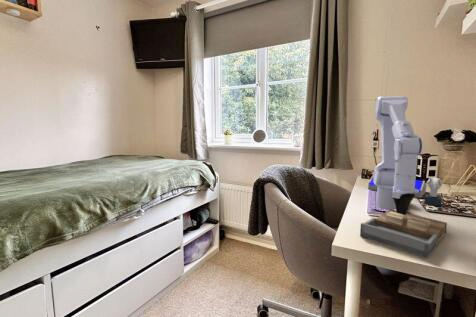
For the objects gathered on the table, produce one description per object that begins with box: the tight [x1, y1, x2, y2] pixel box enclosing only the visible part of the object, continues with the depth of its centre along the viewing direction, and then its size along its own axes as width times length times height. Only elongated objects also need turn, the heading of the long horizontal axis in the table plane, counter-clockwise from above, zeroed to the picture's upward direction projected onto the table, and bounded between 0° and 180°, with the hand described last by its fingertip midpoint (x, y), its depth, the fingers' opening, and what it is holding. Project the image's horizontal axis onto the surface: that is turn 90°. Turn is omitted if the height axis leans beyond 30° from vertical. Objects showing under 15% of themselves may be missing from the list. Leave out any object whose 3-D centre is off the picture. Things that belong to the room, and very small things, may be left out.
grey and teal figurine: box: [423, 177, 443, 207], centre depth 106 cm, size 6×8×11 cm
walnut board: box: [375, 210, 448, 245], centre depth 81 cm, size 14×16×3 cm
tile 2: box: [407, 217, 430, 231], centre depth 76 cm, size 4×4×2 cm
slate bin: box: [359, 217, 438, 259], centre depth 73 cm, size 9×17×4 cm, turn 41°
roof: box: [367, 173, 427, 199], centre depth 126 cm, size 22×14×7 cm, turn 45°
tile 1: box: [385, 212, 407, 225], centre depth 81 cm, size 4×4×2 cm
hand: (401, 215), depth 84 cm, fingers closed
